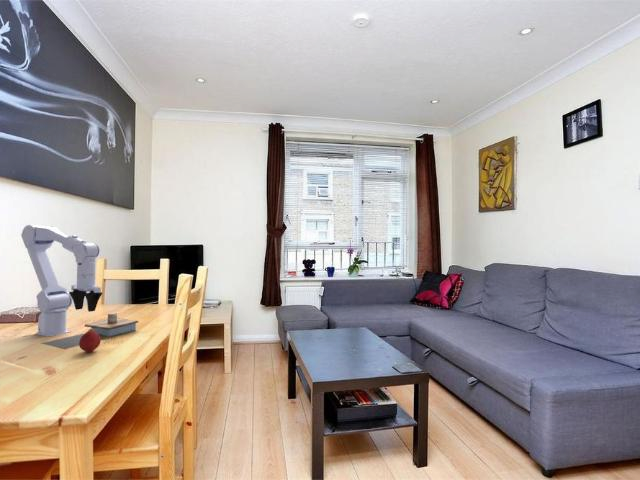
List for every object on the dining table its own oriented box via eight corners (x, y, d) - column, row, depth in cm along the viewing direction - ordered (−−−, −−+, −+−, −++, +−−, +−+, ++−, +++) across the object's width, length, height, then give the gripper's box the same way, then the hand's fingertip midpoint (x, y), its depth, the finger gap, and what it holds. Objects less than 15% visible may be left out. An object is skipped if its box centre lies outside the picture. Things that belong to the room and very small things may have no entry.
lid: (84, 326, 131) (84, 315, 131) (115, 319, 143) (115, 309, 143) (108, 330, 126) (109, 318, 126) (138, 322, 138) (138, 312, 138)
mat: (40, 344, 119) (40, 343, 119) (82, 334, 131) (82, 333, 131) (64, 350, 113) (64, 349, 113) (105, 339, 126) (105, 338, 126)
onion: (89, 356, 107) (90, 331, 107) (74, 355, 108) (75, 330, 108) (104, 350, 113) (105, 327, 113) (90, 349, 114) (90, 326, 114)
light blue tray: (91, 334, 132) (91, 325, 132) (117, 328, 142) (117, 319, 142) (109, 337, 128) (109, 328, 128) (135, 331, 138) (135, 322, 138)
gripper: (63, 274, 128) (62, 310, 127) (87, 276, 122) (86, 313, 122) (82, 273, 134) (81, 307, 134) (106, 275, 128) (105, 310, 128)
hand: (85, 310), depth 128 cm, fingers open, 7 cm apart
